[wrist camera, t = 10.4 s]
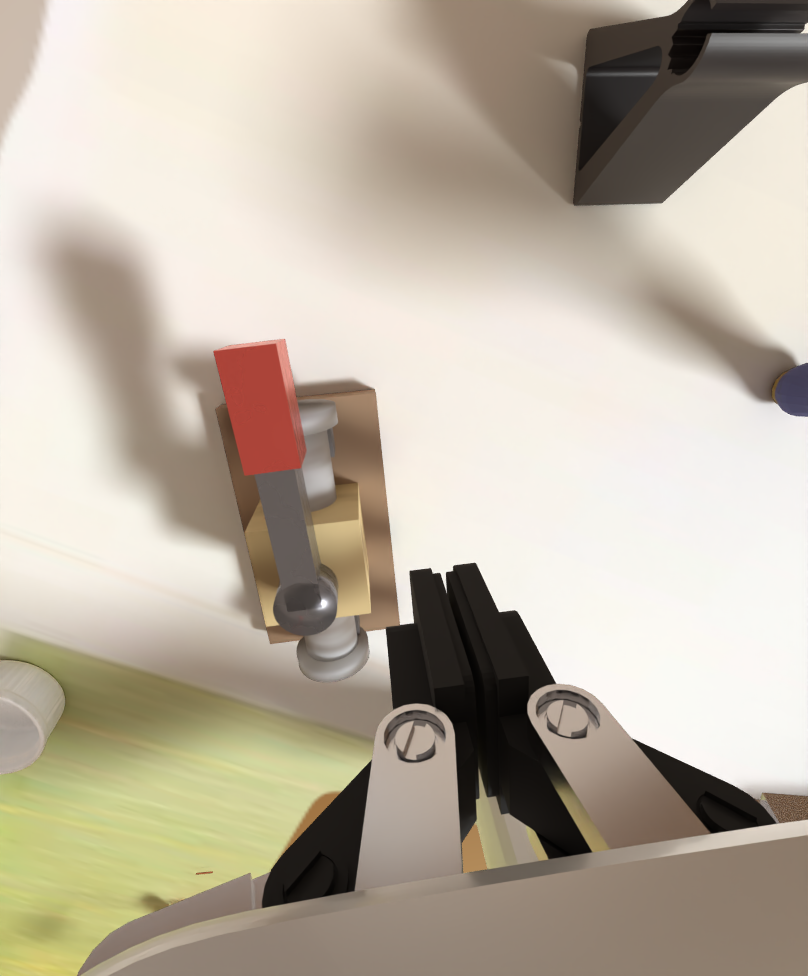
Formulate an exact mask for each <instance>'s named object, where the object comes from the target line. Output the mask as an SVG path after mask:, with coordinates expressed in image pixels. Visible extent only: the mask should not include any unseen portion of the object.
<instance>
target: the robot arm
mask: <svg viewBox="0 0 808 976" xmlns="http://www.w3.org/2000/svg"><path fill="white" fill-rule="evenodd" d="M410 584H411V595H412V606H413V616H414V623H413V624H405V625H398V626H390V627H386V635H387V646H388V657H389V668H390V679H391V690H392V701H393V711H391V712H390V713H389V714H388V715H386V716H385V717H384V718H383V720H382V721H381V723H380V724H379V725H378V729H377V732H376V735H375V742H374V749H373V757H372V760H371V761H370V762H369V763H368V764H367V765H366V766H365V767H364V769H363V770H362V771H361V772H360V773H359V774H358V775H357V776H356V777H355V778H354V779H353V780H352V781H351V782H350V783H349V784H348V786H347V787H346V788H345V789H344V790H343V791H342V792H341V793H340V794H339V795H338V796H337V797H336V798H335V799H334V800H333V802H332V803H331V804H330V805H329V806H328V807H327V808H326V809H325V810H324V811H323V812H322V813H321V814H320V815H319V816H318V817H317V819H316V820H315V821H314V822H313V823H312V824H311V825H310V826H309V827H308V828H307V829H306V830H305V831H304V832H303V833H302V835H301V836H300V837H299V838H298V839H297V840H296V841H295V842H294V843H293V844H292V845H291V846H290V847H289V848H288V849H287V850H286V851H285V853H284V854H283V855H282V856H281V857H280V859H279V860H278V861H277V863H276V864H275V865H274V867H273V868H272V869H271V872H269V873H267V874H265V875H262V876H260V877H257V878H255V879H252V876H251V873H248V874H246V875H244V876H241V877H239V878H236V879H234V880H231V881H229V882H226V883H224V884H221V885H219V886H217V887H214V888H212V889H209V890H207V891H204V892H202V893H199V894H197V895H194V896H192V897H190V898H187V899H185V900H182V901H180V902H177V903H175V904H172V905H170V906H167V907H165V908H163V909H160V910H158V911H155V912H153V913H150V914H148V915H145V916H143V917H140V918H138V919H136V920H133V921H131V922H128V923H127V924H125V925H123V926H122V927H120V928H118V929H116V930H115V931H113V932H111V933H110V934H109V935H108V936H107V937H106V938H105V939H104V940H103V941H102V942H101V943H100V944H99V945H98V946H97V947H96V948H95V949H94V950H93V951H92V952H91V954H90V955H89V957H88V958H87V960H86V961H85V963H84V964H83V966H82V967H81V969H80V970H79V972H78V975H77V976H808V796H798V795H785V794H772V793H762V795H761V799H760V800H758V799H754V798H753V797H751V796H750V795H749V794H747V793H745V792H744V791H742V790H740V789H738V788H737V787H735V786H733V785H731V784H729V783H727V782H725V781H723V780H720V779H718V778H716V777H714V776H712V775H710V774H707V773H705V772H703V771H701V770H699V769H697V768H695V767H692V766H690V765H688V764H686V763H684V762H682V761H680V760H677V759H675V758H673V757H671V756H669V755H667V754H664V753H662V752H660V751H658V750H656V749H654V748H652V747H649V746H647V745H645V744H643V743H641V742H639V741H636V740H634V739H632V738H631V737H630V736H629V735H628V734H627V732H626V731H625V730H624V729H623V728H622V726H621V725H620V724H619V723H618V722H617V720H616V719H615V718H614V717H613V716H612V714H611V713H610V712H609V711H608V710H607V708H606V707H605V706H604V705H603V704H602V703H601V702H600V701H599V700H598V699H597V698H596V697H595V696H594V695H592V694H591V693H589V692H587V691H585V690H584V689H581V688H578V687H575V686H572V685H565V684H556V683H555V681H554V679H553V677H552V675H551V673H550V671H549V669H548V668H547V666H546V664H545V662H544V660H543V658H542V656H541V654H540V653H539V651H538V649H537V647H536V645H535V643H534V641H533V640H532V638H531V636H530V634H529V632H528V630H527V628H526V626H525V625H524V623H523V621H522V619H521V617H520V615H519V614H518V612H517V611H515V610H514V611H506V612H499V611H498V609H497V607H496V605H495V603H494V601H493V598H492V596H491V594H490V592H489V590H488V588H487V586H486V584H485V582H484V579H483V577H482V575H481V573H480V571H479V569H478V567H477V565H476V563H470V564H462V565H454V566H453V571H451V572H446V585H447V593H446V590H445V587H444V584H443V580H442V577H441V574H440V573H435V574H433V573H432V570H431V568H429V569H421V570H413V571H410ZM475 822H477V826H478V830H479V835H480V839H481V843H482V847H483V852H484V856H485V860H486V864H487V870H481V871H475V872H469V873H463V860H462V842H463V840H464V839H465V837H466V836H467V834H468V833H469V831H470V829H471V828H472V826H473V825H474V823H475Z"/></svg>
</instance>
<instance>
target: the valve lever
mask: <svg viewBox="0 0 808 976" xmlns="http://www.w3.org/2000/svg"><path fill="white" fill-rule="evenodd" d="M213 352H214V356H215V360H216V364H217V368H218V372H219V376H220V380H221V384H222V388H223V392H224V396H225V400H226V404H227V408H228V412H229V416H230V420H231V424H232V428H233V432H234V436H235V440H236V444H237V448H238V452H239V456H240V459H241V463H242V467H243V471H244V475H245V476H246V475H255V479H256V483H257V488H258V492H259V496H260V500H261V504H262V508H263V512H264V517H265V521H266V525H267V529H268V533H269V537H270V541H271V545H272V550H273V554H274V558H275V562H276V566H277V570H278V574H279V579H280V581H279V585H278V589H277V593H276V596H275V600H274V604H273V614H274V617H275V619H276V621H277V623H278V624H279V625H280V626H281V627H282V628H283V629H285V630H286V631H288V632H290V633H292V634H296V635H302V636H309V635H315V634H318V633H320V632H323V631H324V630H326V629H327V628H328V627H329V626H330V625H331V624H332V623H333V622H334V620H335V618H336V615H337V604H338V580H337V577H336V575H335V574H334V572H333V571H332V570H331V569H330V568H329V567H327V566H326V565H324V564H322V563H321V560H320V555H319V551H318V546H317V541H316V536H315V531H314V526H313V521H312V516H311V511H310V506H309V501H308V496H307V491H306V486H305V481H304V476H303V471H302V464H303V461H304V458H305V455H306V452H307V449H306V444H305V439H304V434H303V429H302V424H301V419H300V413H299V408H298V403H297V398H296V393H295V388H294V382H293V377H292V372H291V367H290V362H289V357H288V351H287V346H286V341H285V339H279V340H271V341H262V342H254V343H246V344H237V345H229V346H226V347H224V348H221V349H218V350H215V351H213Z"/></svg>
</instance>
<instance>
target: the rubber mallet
mask: <svg viewBox="0 0 808 976" xmlns="http://www.w3.org/2000/svg"><path fill="white" fill-rule="evenodd" d="M772 398H773V399H774V401H775V402H776V403H777V404H778V405H779V406H780V408H781V409H782V410H783V411H785V412H786V413H788V414H790V415H794V416H804V417H808V363H805V364H802V365H800V366H797V367H794V368H792V369H790V370H788V371H786V372H784V373H782V374H781V375H780V376H779V377H778V379H777V380H776V381H775V383H774V386H773V388H772Z"/></svg>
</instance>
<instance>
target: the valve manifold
mask: <svg viewBox="0 0 808 976" xmlns="http://www.w3.org/2000/svg"><path fill="white" fill-rule="evenodd" d="M296 398H297V403H298V408H299V413H300V419H301V424H302V429H303V434H304V439H305V444H306V449H307V452H306V455H305V458H304V461H303V464H302V471H303V476H304V481H305V486H306V491H307V496H308V501H309V506H310V511H311V516H312V521H313V526H314V531H315V536H316V541H317V546H318V551H319V555H320V560H321V563H322V564H324V565H326V566H327V567H329V568H330V569H331V570H332V571H333V572H334V574H335V575H336V577H337V580H338V604H337V615H336V618H335V620H334V622H333V623H332V624H331V625H330V626H329V627H328V628H327V629H326V630H324V631H323V632H320V633H318V634H315V635H309V636H302V635H296V634H292V633H290V632H288V631H286V630H285V629H283V628H282V627H281V626H280V625H279V624H278V623H277V621H276V619H275V617H274V614H273V604H274V600H275V596H276V593H277V589H278V585H279V581H280V579H279V574H278V570H277V566H276V562H275V558H274V554H273V550H272V545H271V541H270V537H269V533H268V529H267V525H266V521H265V517H264V512H263V508H262V504H261V500H260V496H259V492H258V488H257V483H256V479H255V475H246V476H245V475H244V471H243V467H242V463H241V459H240V456H239V452H238V448H237V444H236V440H235V436H234V432H233V428H232V424H231V420H230V416H229V412H228V408H227V404H223V405H220V406H219V407H218V408H216V414H217V418H218V422H219V426H220V431H221V435H222V439H223V444H224V448H225V452H226V457H227V461H228V465H229V469H230V474H231V478H232V482H233V487H234V491H235V495H236V499H237V504H238V508H239V512H240V517H241V521H242V525H243V530H244V534H245V538H246V542H247V547H248V551H249V555H250V560H251V564H252V568H253V573H254V577H255V581H256V585H257V590H258V594H259V598H260V603H261V607H262V611H263V615H264V620H265V624H266V628H267V633H268V637H269V641H270V644H274V643H282V642H289V641H297V640H300V641H299V643H298V646H297V657H298V662H299V667H300V670H301V671H302V673H303V674H304V675H305V676H306V677H308V678H309V679H311V680H314V681H318V682H335V681H340V680H343V679H346V678H348V677H350V676H352V675H354V674H355V673H357V672H358V671H359V670H360V669H361V668H362V667H363V666H364V665H365V664H366V662H367V660H368V658H369V644H368V637H367V634H366V631H373V630H381V629H386V627H390V626H398V625H400V621H399V612H398V602H397V593H396V583H395V574H394V564H393V554H392V545H391V535H390V526H389V516H388V507H387V497H386V488H385V478H384V469H383V459H382V449H381V440H380V430H379V421H378V411H377V402H376V393H375V389H373V390H363V391H353V392H343V393H333V394H323V395H313V396H303V397H296Z"/></svg>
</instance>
